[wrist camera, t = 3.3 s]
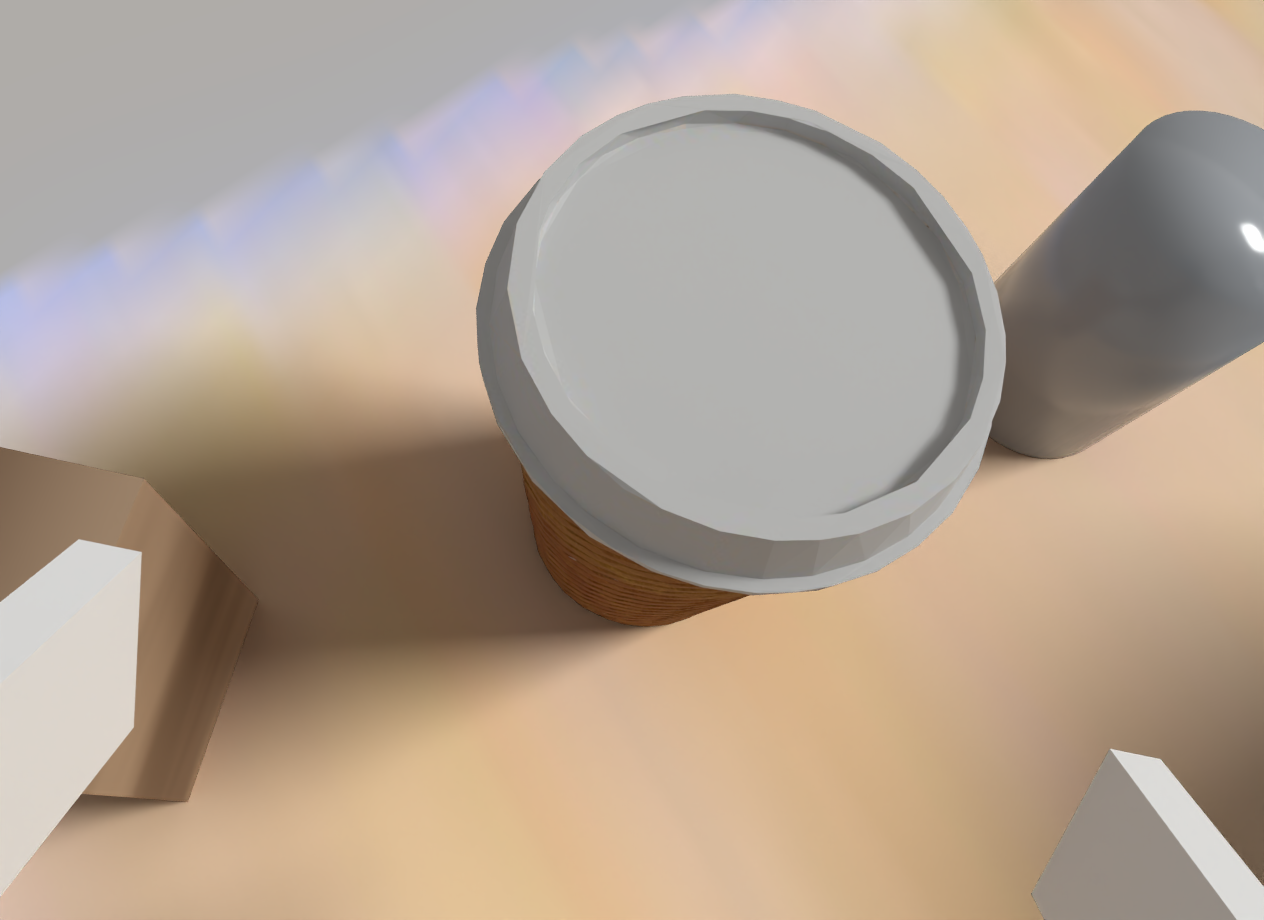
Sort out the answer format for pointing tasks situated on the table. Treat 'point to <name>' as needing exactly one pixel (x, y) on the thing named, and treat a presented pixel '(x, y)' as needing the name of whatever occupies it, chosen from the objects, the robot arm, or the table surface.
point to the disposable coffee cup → (735, 356)
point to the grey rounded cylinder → (1135, 286)
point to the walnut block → (168, 608)
